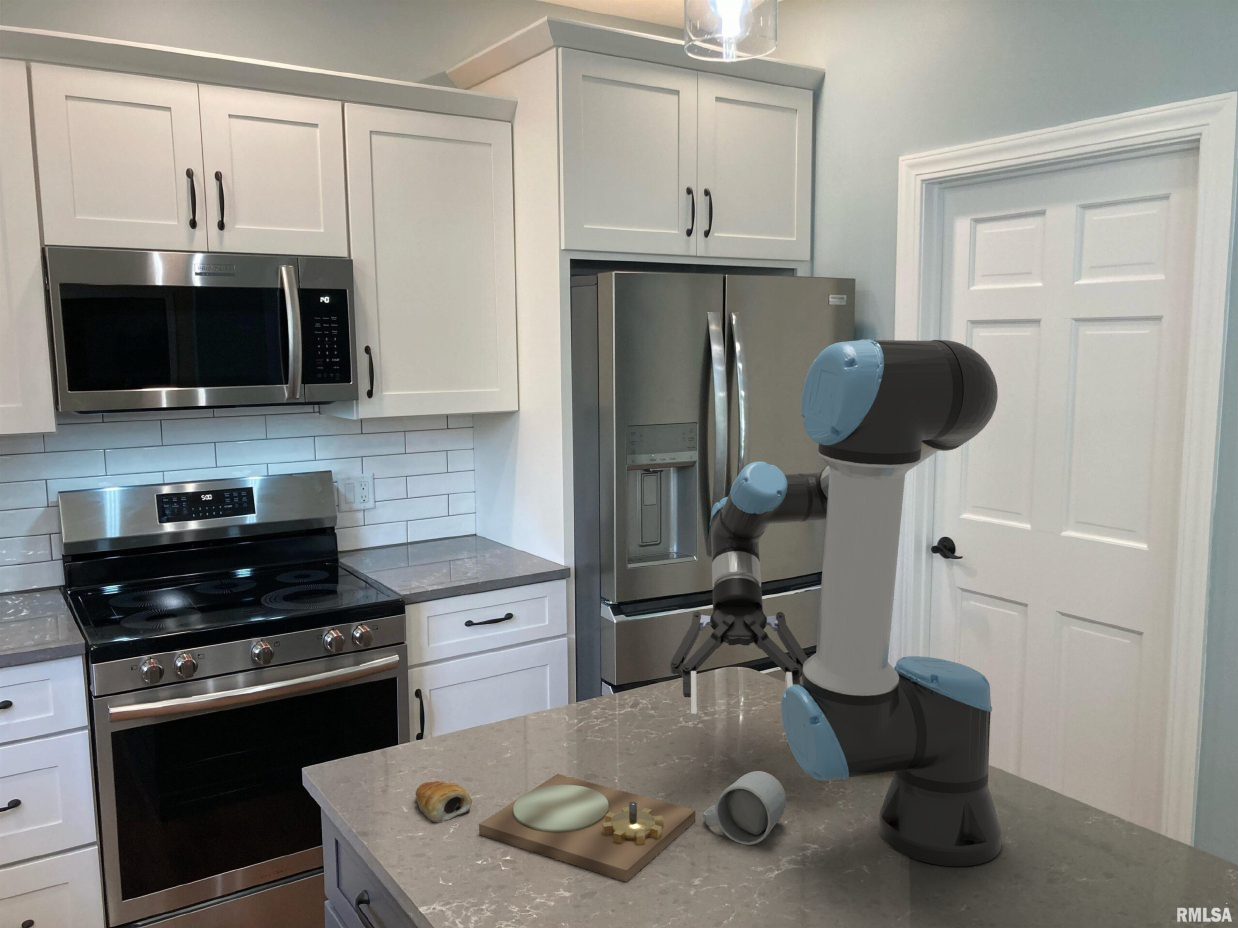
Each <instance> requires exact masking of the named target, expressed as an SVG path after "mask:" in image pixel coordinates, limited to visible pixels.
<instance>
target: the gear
mask: <svg viewBox="0 0 1238 928" xmlns="http://www.w3.org/2000/svg"><path fill="white" fill-rule="evenodd" d="M662 828H664V819H663V817H662V816H652V810H651V809H647V808H644V809H643V810H641V811H637V803H636V802H630V803H629V807H624V808H622V812H621V813H618V814H614V813H611V812H609V813H608V814H606V815H605V823H602V832H603V834H604V836H605V835H613V842H615V843H619V844H621V843H623V842H624V841H625V840H627V841H635V843H636V845H642V844H645V839H647V838H649V837H652V838H655V839H659V838H660V837H661V836H662Z"/></svg>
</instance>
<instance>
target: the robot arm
mask: <svg viewBox="0 0 1238 928" xmlns="http://www.w3.org/2000/svg"><path fill="white" fill-rule="evenodd" d="M997 384H998V383H997V380H996V376H995V374H994V372H993V370H992V368H991V366H990V364H989V363H988V361H987V360H985V358H984V357H983V356H982V355H981V354H980V353H979V352H977V351H976V350H975V349H973V348H971V347H969V346H967V345H965V344H963V343H962V342H958V341H955V340H946V339H932V340H910V339H909V340H905V339H904V340H899V339H898V340H896V339H892V340H891V339H885V340H884V339H869V338H868V339H863V338H862V339H859V340H850V341H840V342H835V343H833V344H831V345H828V346H826V348H824V349H823V350H822V351H821V352H819V354H818V356H817V357H816V358H815V359H814V360H813V361H812V363H811V365H810V366H809V369H808V372H807V374H806V377H805V381H804V384H803V389H802V395H801V404H800V405H801V406H800V407H801V409H800V410H801V411H800V412H801V416H802V418H803V419H804V421H803V428H804V430H805V433H806V434H807V435H808V437H809V439H811V440H812V441H813V442H814V443H817V444H818V450H817V452H818V453H817V454H818V456H819V457H820V458H821V459H822V460H823V461H824V463H826V464H827V466H826V467H824V468H823V469H821V470H819V471H817V472H804V473H802V472H801V473H783V471H782V470H781V469H780V468H779V467H777V466H776V465H774V464H769V463H767V462H766V461H754V462H750V463H748V464H747V465H745V466H744V467H743V468H742V469H741V470H740V472H739V474H738V475H737V477H736V479H734V481H733V482H732V485H731V488H730V492H729V494H728V496H726V497H723V498H722V499H720V501H717V502H715V503H714V504H713V506H712V508H711V512H710V521H709V528H710V530H709V531H710V540H711V541H710V542H711V543H710V545H711V577H712V578H711V580H712V581H711V582H712V585H711V586H712V613H711V615H704V614H701V612H700V611H699V610H696V611H694V612H693V613H692V620H691V625H690V626H689V627H688V630H687V631H686V634H685V635H684V637H683V639H682V640H681V643H680V644H679V646H678V648H677V650H676V651H675V653H674V655H673V657H672V659H671V660H670V673H671V674H673V675H679V676H681V678H682V695H683V697H684V698H690V721H691V722H693V723H696V722H697V718H698V717H697V715H698V714H697V713H698V712H697V711H698V710H697V709H698V708H697V671H698V670H699V669H700V667H701V666H702V665H703V664H704V663H705V662H706V661H707V660H708V658H709V657H710V656H712V655H713V654H714V652H715V651H716V650H717V649H719V648H720V647H721V646H722V645H723V644H724V643H725V644H728V646H736V645H737V646H738V645H741V646H750V645H751V644H754V645H755V646H756V647H757V648H758V649H759V650H762V651H763V652H764V653H765V654H766V655H767V657H768V658H770V660H772V661H773V662H774V663H775V664H776V665H777V667H779V668H780V669H781V670H782V671H783V672H784V673H785V677H784V688H785V691H784V692H783V693H782V696H781V706H780V708H781V709H780V710H781V720H782V726H783V730H784V733H785V737H786V740H787V743H788V745H789V748H790V751H791V753H792V755H793V758H794V759H795V760H796V763H797V764H798V766H800V768H801V769H802V770H803V772H804V773H806V774H807V775H808V776H810V778H813V779H815V780H817V781H818V780H819V781H830V780H841V781H846V780H848V779H849V778H856V777H862V776H869V775H876V774H877V775H879V774H884V773H890V772H891V773H892V772H893V775H892V778H891V782H890V784H889V785H888V788H887V790H886V791H887V792H886V794H885V797H884V800H883V801H882V805H881V807H880V810H879V814H878V815H879V819H878V820H879V821H878V830H879V835H880V837H881V839H882V840H883V841H884V842H885V844H886V845H888V846H889V847H890V848H892V849H893V850H894V851H896V852H898V853H900V854H902V855H903V856H906V857H909V858H911V859H914V860H916V861H920V862H924V863H927V864H931V865H937V866H945V867H946V866H947V867H970V866H977V865H980V864H985V863H987V862H989V861H992V860H993V859H995V858H996V857H997V856H998V855H999V853H1000V852H1001V850H1002V827H1001V823H1000V820H999V817H998V814H997V810H996V807H995V805H994V801H993V798H992V794H991V791H990V789H989V769H990V768H989V765H990V733H991V731H990V730H991V712H992V711H993V707H992V702H991V701H992V700H991V698H992V697H991V686H990V685H991V684H990V682H989V680H988V679H987V677H986V676H985V675H984V674H982V673H981V672H980V671H979V670H976V669H974V668H973V667H970V666H968V665H965V664H961V663H958V662H954V661H950V660H946V659H943V658H942V659H941V658H937V657H929V656H918V655H917V656H916V655H915V656H911V655H909V656H904V657H901V658H899V659H897V661H896V664H895V666H894V667H893V666H892V665H891V664H890V663H889V655H890V654H889V653H890V645H891V644H890V642H891V632H892V631H891V630H892V619H893V611H894V600H895V598H894V597H895V591H896V590H895V588H896V577H897V576H896V575H897V567H898V557H899V546H900V545H899V544H900V534H901V523H902V522H901V521H902V515H903V514H902V513H903V501H904V492H905V491H904V490H905V483H906V482H905V481H906V480H905V479H906V475H907V473H908V472H909V471H910V470H913V468H914V469H915V467H917V466H918V465H920V464H921V463H923V462H924V461H926V460H927V459H929V458H930V457H931V456H933V455H935V454H936V453H937V452H947V451H948V452H949V451H953V450H955V449H958V448H960V447H961V446H962V445H965V444H966V443H967V442H969V441H970V440H972V439H973V438H974V437H976V436H977V435H979V434H980V432H982V431H983V430H984V428H986V426H987V425H988V424H989V423H990V421H991V419H992V418H993V416H994V413H995V411H996V408H997V403H998V395H999V394H998V385H997ZM823 521H824V522H825V532H824V533H825V534H824V544H823V546H824V547H823V560H822V571H821V572H822V574H821V583H820V584H821V586H820V587H821V588H820V597H819V599H820V600H819V611H818V624H817V638H816V639H817V640H816V653H814V654H812V655H811V656H810V657H808V656H807V654H806V653H805V651H804V649H803V648H802V647H801V645H800V644H799V642H798V640H797V639H796V638H795V635H794V634H793V633H792V631H791V630H790V628H789V627H788V625H787V621H786V617H785V616H786V615H785V613H784V612H782V611H779V612H777V613H776V614H775V615H769V616H768V615H765V613H764V608H763V592H762V576H761V561H760V541H761V538H762V536H763V535H764V533H765V532H766V530H767V528H768V527H769V525H770V524H771V525H772V524H774V525H775V524H787V523H788V524H789V523H805V522H823ZM708 625H709V626H710V628H711V629H712V630H713V632H711V635H710V636H709V637H708V638H707V640H705V641H704V642H703V644H702V645H701V646H700V647H699V648H698V649H696V651H695V652H694V653H693V654H692V655H691V657H689V658H688V660H686V659H687V657H688V656H689V654H690V652H691V650H692V648H693V647H694V645H695V643H696V641H697V639H698V637H699V636H700V631H704V630H705V629H706V627H707V626H708ZM767 626H769V627H770V628H771V629H772V631H773V632H776V634H777V636H778V638H779V640H780V641H781V643H782V645H783V646H784V648H785V649H786V651H787V652H788V654H789V655H790V657H789V655H788V654H787V653H786V652H785V651H784V650H783V649H782V648H781V647H780V646H779V645H777V644H776V642H775V641H774V640H773V639H772V638H770V636H769V635H768V633H767V631H765V629H766V627H767ZM685 661H686V662H685Z"/></svg>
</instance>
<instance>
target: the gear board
mask: <svg viewBox="0 0 1238 928" xmlns="http://www.w3.org/2000/svg"><path fill="white" fill-rule="evenodd" d="M630 802H636V803H637V811H641V810H643V809H644V808H647V809H651V810H652V816H662V817H663V819H664V828H662V836H661V837H660V838H659V839H655V838H652V837H649V838H647V839H645V844H642V845H636V843H635V841H627V840H625V841H624V842H623V843H621V844H619V843H615V842H613V835H605V836H604V834H603V832H602V823H605V815H606V814H608V813H609V812H611V813H614V814H618V813H621V812H622V808H624V807H629V803H630ZM694 821H695V822H696V809H693V808H688V807H684V806H681V805H677V804H673V803H669V802H667V801H662V800H658V799H655V798H650V797H647V796H644V795H639V794H635V793H632V792H628V791H624V790H620V789H617V788H612V787H608V786H604V785H601V784H597V783H593V782H591V781H586V780H582V779H580V778H579V779H578V778H575V777H571V776H567V775H563V774H559V773H557V774H555V775H554V776H552V777H550V778H549V779H547V780H545V781H544V782H542V783H541V784H539V785H538V786H536V787H534V788H533V789H531V790H530V791H528V792H527V791H526V793H524V794H522V795H521V796H519V797H518V799H516V800H514V801H513V802H511V803H509V804H508V805H506V806H505V807H503V808H502V809H500V810H498V811H497V812H495V813H494V814H492V815H490V816H489V817H488V818H486V819H484V820H483V821H480V823H478V835H479V836H482V837H485V838H489V839H491V840H494V841H497V842H501V843H504V844H506V845H510V846H513V847H516V848H520V849H522V850H525V851H529V852H531V853H535V854H538V855H541V856H544V857H547V856H548V857H547V858H550V857H551V859H553V858H555V859H554V860H556V861H559V860H560V861H559V862H562V861H564V862H563V863H566V864H569V863H570V864H569V865H572V864H573V865H572V866H575V865H577V866H576V867H578V866H579V867H578V868H582V869H585V870H587V869H588V871H590V870H592V871H591V872H594V873H597V874H600V875H602V876H603V875H604V876H606V877H609V878H612V879H616V880H620V881H622V882H625V883H628V882H629V881H630V880H631V879H633V877H635V876H636V875H637V874H638V873H640V872H641V870H642V869H644V868H645V867H646V866H647V865H648V864H649V863H651V861H653V859H655V858H656V857H657V856H658V855H659V854H661V853H662V851H664V850H665V849H666V848H667V847H668V846H669V845H670V844H672V842H673V841H675V840H676V839H678V837H679V836H681V834H683V833H684V832H685V831H686V830H687V829H688V828H690V826H692V825H693V824H694V823H695V822H694ZM693 822H694V823H693ZM686 828H687V829H686ZM685 829H686V830H685ZM684 830H685V831H684ZM683 831H684V832H683Z"/></svg>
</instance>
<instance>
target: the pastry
mask: <svg viewBox="0 0 1238 928" xmlns="http://www.w3.org/2000/svg"><path fill="white" fill-rule="evenodd" d="M415 797H416V798H415V799H416V803H418V804H417V805H418V807H419V808H418V809H419V810H420V811H421V812H423V814H424V815H425V817H426V818H428V819H429V820H430V821H432V822H434V823H440V822H441V823H442V822H443V823H444V822H446V821H449V820H451V819H454V818H455V817H457V816H460V815H463V814H465V813H467V812H468V811H469V810H470V809H471V807H472V804H473V803H472V802H473V800H472V798H471V797H470V794H469V793H468V791H466V790H465V788H463V787H461V786H459V784H458V783H455V782H452V783H451V782H447V781H442V780H441V781H439V780H438V781H437V780H436V781H431V782H429V781H428V782H427V781H426V782H423V783H422V784H420V785H419V786H418V787H417V788H416V790H415Z"/></svg>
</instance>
